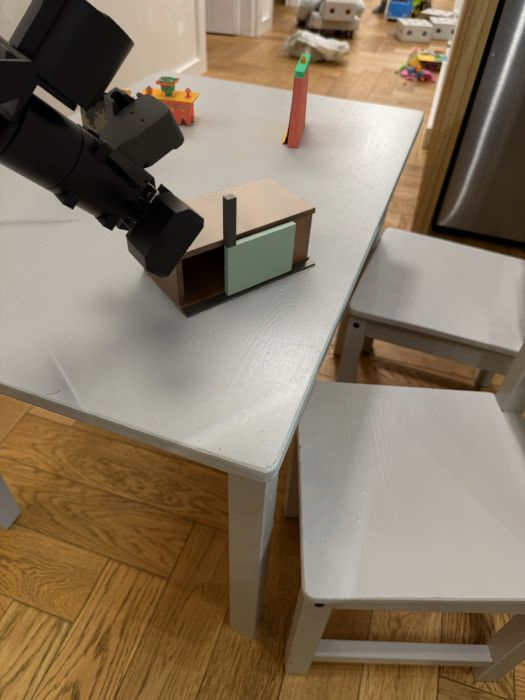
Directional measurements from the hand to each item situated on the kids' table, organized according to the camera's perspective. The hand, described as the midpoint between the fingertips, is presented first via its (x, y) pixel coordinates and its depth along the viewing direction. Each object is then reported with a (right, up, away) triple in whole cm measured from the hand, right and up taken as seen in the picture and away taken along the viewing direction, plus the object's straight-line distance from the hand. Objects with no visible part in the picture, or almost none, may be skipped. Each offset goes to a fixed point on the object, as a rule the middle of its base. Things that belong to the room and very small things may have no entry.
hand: (187, 237), depth 53 cm
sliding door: (+7, -3, +11) cm, 14 cm away
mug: (-18, +20, +34) cm, 44 cm away
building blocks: (-1, +33, +48) cm, 59 cm away
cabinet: (+3, -1, +14) cm, 15 cm away
